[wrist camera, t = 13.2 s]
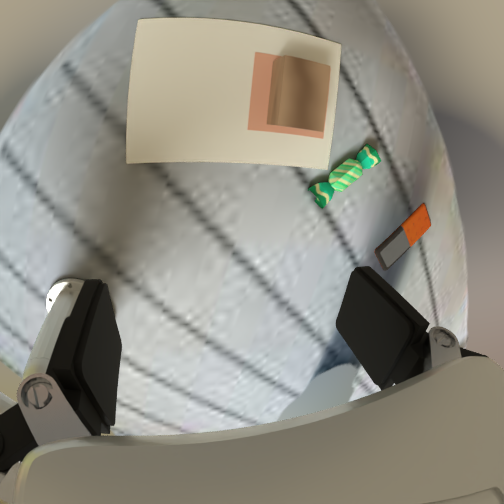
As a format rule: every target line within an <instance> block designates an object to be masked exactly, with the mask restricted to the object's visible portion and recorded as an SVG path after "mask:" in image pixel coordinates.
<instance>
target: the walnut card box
mask: <svg viewBox="0 0 504 504" xmlns="http://www.w3.org/2000/svg"><path fill="white" fill-rule="evenodd" d="M329 77H330V66H329V65H325V64H322V63H318V62H314V61H310V60H306V59H302V58H297V57H293V56H288V55H284V56H282V57H280V58H278V59H277V60H275V61H273V66H272V76H271V86H270V95H269V105H268V114H267V124H268V125H277V126H285V127H292V128H299V129H306V130H312V131H319V132H323V130H324V122H325V114H326V105H327V96H328V87H329Z"/></svg>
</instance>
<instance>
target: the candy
mask: <svg viewBox="0 0 504 504" xmlns="http://www.w3.org/2000/svg"><path fill="white" fill-rule="evenodd" d="M379 162H381V159H380V157H379V155H378V153H377V151H376V150H375V149H374V148H372V147H371V146H370V145H368V144H366V145H365V146H364V148H363V149H362V150H361V151H360V152H359V153H358V154H357V158H356V160H353V159H348V160H346V161H345V162H344V163H343V164H341V165H340V166H339V167H337V168H336V169H335V170H334V171H332V172H331V173H330V175H329V179H328V182H324V183H317V184H316V185H314V186H312V187H310V188H309V189H308V190H310V191H311V192H312V193H313V194H314V195H315V196H317V198H316V200H315V202H316V203H317V204H318V205H319V206H320V207H321V208H324V206H325V205H326V204H327V203H328V202H329V201H330V200H331V199H332V196H333V193H334V190H335V191H340V192H342V191H343V190H344V189H346V188H347V187H348V186H349V185H351V184H352V183H353V182H354V181H356V180H357V179H358V178H359V177H360V176H361V175H362V169H370V168H371V167H373V166H375V165H377V164H378V163H379Z"/></svg>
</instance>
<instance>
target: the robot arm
mask: <svg viewBox="0 0 504 504" xmlns="http://www.w3.org/2000/svg"><path fill="white" fill-rule="evenodd" d="M46 305H47V310H48V314H47V317H46V319H45V321H44V323H43V325H42V327H41V330H40V332H39V334H38V337H37V339H36V341H35V344H34V346H33V349H32V351H31V354H30V356H29V359H28V361H27V364H26V367H25V370H24V373H23V381H22V382H21V384H20V385H19V388H18V390H17V400H18V403H17V402H15V401H14V400H12V399H11V398H9V397H7V396H6V395H5V394H3V393H2V392H0V504H504V370H503V369H502V368H501V367H500V366H499V365H498V364H497V363H496V362H495V361H493V360H492V359H490V358H489V357H487V356H486V355H482V354H479V353H476V352H472V351H469V350H466V349H463V348H460V347H459V342H458V340H457V338H456V336H455V335H454V334H453V333H452V332H451V331H449V330H448V329H446V328H443V327H439V326H437V327H433V328H431V329H430V331H429V333H427V332H426V329H427V328H428V326H429V324H430V323H429V322H428V321H427V320H426V319H425V318H424V317H423V316H422V315H421V314H420V313H419V312H418V311H417V310H416V309H415V308H414V307H413V306H412V305H410V304H409V303H408V302H407V301H406V300H405V299H404V298H403V297H402V296H401V295H400V294H399V293H398V292H397V291H396V290H395V289H394V288H393V287H392V286H390V285H389V284H388V283H387V282H386V281H385V280H384V279H383V278H382V277H381V276H380V275H379V274H377V273H376V272H375V271H374V270H373V269H372V268H371V267H369V266H364V267H356V268H355V269H354V271H352V273H351V275H350V279H349V282H348V285H347V289H346V292H345V295H344V298H343V301H342V305H341V308H340V311H339V314H338V317H337V320H336V328H337V330H338V331H339V333H340V334H341V336H342V337H343V338H344V340H345V341H346V343H347V344H348V346H349V347H350V349H351V350H352V351H353V353H354V354H355V356H356V357H357V359H358V360H359V362H360V363H361V364H362V366H363V367H364V369H365V370H366V372H367V373H368V375H369V376H370V378H371V379H372V381H373V382H374V383H375V384H376V385H378V386H379V387H380V389H381V390H382V391H379V392H376V393H374V394H371V395H368V396H366V397H363V398H360V399H357V400H354V401H351V402H348V403H345V404H342V405H339V406H336V407H332V408H329V409H325V410H322V411H318V412H315V413H311V414H307V415H303V416H299V417H296V418H291V419H286V420H282V421H277V422H272V423H267V424H262V425H256V426H251V427H244V428H238V429H231V430H223V431H215V432H205V433H193V434H178V435H157V436H101V433H105V434H110V426H114V425H115V415H116V399H117V387H118V376H119V367H120V359H121V351H122V343H121V338H120V335H119V331H118V327H117V324H116V320H115V316H114V312H113V308H112V304H111V299H110V295H109V290H108V286H107V284H106V283H102V281H101V280H100V279H91V280H85V281H83V280H79V279H72V278H68V279H63V280H60V281H58V282H57V283H55V284H54V285H53V286H52V287H51V289H50V291H49V293H48V295H47V299H46ZM394 383H395V384H396V385H394V386H393V384H394Z"/></svg>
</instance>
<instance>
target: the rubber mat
mask: <svg viewBox="0 0 504 504" xmlns="http://www.w3.org/2000/svg"><path fill="white" fill-rule="evenodd" d="M284 55H288V56H293V57H297V58H302V59H306V60H310V61H314V62H318V63H322V64H325V65H329V66H330V77H329V87H328V96H327V105H326V114H325V122H324V130H323V132H319V131H312V130H306V129H299V128H292V127H285V126H277V125H268V124H267V114H268V105H269V95H270V86H271V76H272V66H273V61H275V60H277V59H278V58H280V57H282V56H284ZM340 55H341V44H338V43H335V42H332V41H329V40H325V39H322V38H319V37H315V36H311V35H308V34H304V33H300V32H296V31H291V30H287V29H282V28H277V27H272V26H267V25H261V24H254V23H248V22H240V21H231V20H221V19H207V18H151V19H138V24H137V29H136V35H135V41H134V48H133V55H132V63H131V72H130V81H129V93H128V107H127V129H126V164H132V163H155V162H229V163H253V164H270V165H284V166H296V167H306V168H316V169H325V170H328V164H329V157H330V150H331V143H332V135H333V127H334V119H335V110H336V101H337V91H338V80H339V68H340Z"/></svg>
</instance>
